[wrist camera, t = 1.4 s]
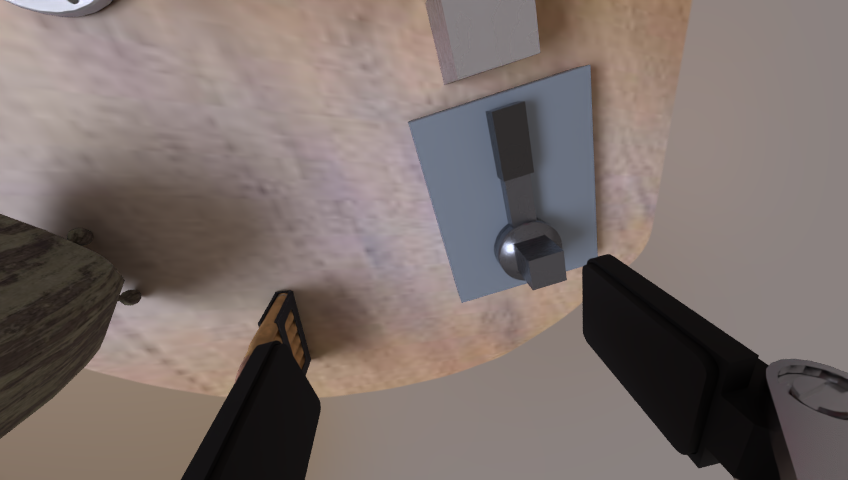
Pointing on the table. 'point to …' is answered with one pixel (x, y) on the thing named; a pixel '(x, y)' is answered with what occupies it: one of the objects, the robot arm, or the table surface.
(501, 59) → the matte grey cube
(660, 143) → the table surface
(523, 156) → the ratchet
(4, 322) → the tabletop clock
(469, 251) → the slate board
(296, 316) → the ammunition clip
